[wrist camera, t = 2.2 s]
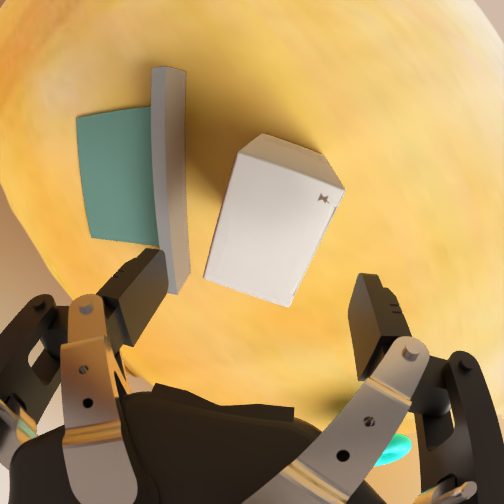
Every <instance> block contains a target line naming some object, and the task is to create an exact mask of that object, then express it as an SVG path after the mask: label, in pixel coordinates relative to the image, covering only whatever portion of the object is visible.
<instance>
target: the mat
mask: <svg viewBox="0 0 504 504" xmlns="http://www.w3.org/2000/svg"><path fill="white" fill-rule="evenodd" d="M76 119H77V140H78V153H79V164H80V173H81V181H82V188H83V195H84V202H85V208H86V213H87V219H88V224H89V229H90V234H91V238H97V239H105V240H113V241H122V242H130V243H139V244H147V245H156V246H159V239H158V230H157V220H156V210H155V198H154V185H153V169H152V146H151V106H149V107H140V108H132V109H125V110H118V111H112V112H106V113H100V114H95V115H90V116H85V117H80V118H76Z"/></svg>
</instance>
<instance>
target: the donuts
mask: <svg viewBox="0 0 504 504" xmlns="http://www.w3.org/2000/svg"><path fill="white" fill-rule="evenodd" d="M410 449H411V440H410V439H409V438H408V437H407V436H405V435H402V434H395V435H394V436H393V438H392V439H391V441H390V443H389V444H388V446H387V447H386V449H385V450H384V452H383V453H382V455H381V456H380V458H379V459H378V461H377V462H376V464H375V465H374V466H379V465H384V464H388V463H391V462H393V461H396V460H398V459H400V458H402V457H403V456H405V455H406V454H407V453H408V452H409V450H410Z"/></svg>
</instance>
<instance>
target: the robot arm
mask: <svg viewBox="0 0 504 504" xmlns="http://www.w3.org/2000/svg"><path fill="white" fill-rule="evenodd" d="M168 286H169V281H168V273H167V265H166V257H165V253H164V251H163V250H158V249H150V248H146V249H145V250H144V251H143V252H142V253H141V254H140V255H139V256H138V257H137V258H133V259H132V260H130V261H128V262H126V263H125V264H124V265H123V266H122V267H121V268H120V269H119V270H118V271H117V272H116V273H115V274H114V275H113V277H111V278H110V279H109V280H108V281H107V282H106V284H105V285H104V286H103V287H102V288H101V289H100V290H99V291H98V292H97V293H96V294H86V295H82V296H80V297H78V298H76V299H75V300H74V301H73V302H72V303H71V304H70V306H56V303H55V301H54V299H53V297H52V296H51V295H48V294H42V295H39V296H36V297H34V298H33V299H32V300H30V301H29V302H28V303H27V304H26V305H25V307H24V308H23V309H22V310H21V311H20V312H19V313H18V314H17V315H16V316H15V318H14V319H13V320H12V321H11V322H10V323H9V325H8V326H7V327H6V328H5V329H4V330H3V332H2V333H1V334H0V463H1V464H2V465H3V466H5V467H6V468H7V469H8V470H9V473H10V493H9V503H8V504H386V502H385V501H384V500H383V499H382V498H381V497H380V496H379V495H378V494H377V493H376V492H375V491H374V490H373V488H372V487H371V486H370V485H369V484H368V483H367V482H366V481H365V480H364V478H365V477H366V476H367V475H368V473H369V472H370V470H371V469H372V468H373V466H374V465H375V464H376V462H377V461H378V459H379V458H380V456H381V455H382V453H383V452H384V450H385V449H386V447H387V446H388V444H389V443H390V441H391V439H392V438H393V436H394V435H395V433H396V431H397V429H398V428H399V426H400V424H401V423H402V421H403V419H404V417H405V415H406V414H407V412H412V413H414V416H415V423H416V430H417V438H418V448H419V458H420V474H421V494H420V495H419V496H418V497H417V498H416V499H415V501H414V503H413V504H504V443H503V438H502V434H501V430H500V426H499V423H498V419H497V415H496V412H495V408H494V405H493V402H492V399H491V396H490V393H489V390H488V387H487V384H486V382H485V379H484V376H483V373H482V371H481V368H480V366H479V364H478V362H477V360H476V359H475V358H474V357H473V356H472V355H471V354H469V353H467V352H465V351H456V352H454V353H452V355H451V356H450V358H449V359H448V360H445V359H441V358H437V357H433V356H430V355H429V351H428V349H427V347H426V346H425V345H424V344H423V343H422V342H421V341H420V340H418V339H416V338H413V337H412V335H411V333H410V330H409V327H408V325H407V322H406V320H405V317H404V315H403V314H402V310H401V308H400V306H399V303H398V300H397V298H396V296H395V295H394V294H393V293H392V292H391V291H390V290H389V289H388V288H383V286H382V284H381V281H380V279H379V277H378V275H375V274H366V273H359V275H358V277H357V280H356V283H355V287H354V290H353V294H352V297H351V300H350V304H349V309H348V320H349V326H350V331H351V337H352V343H353V349H354V356H355V362H356V369H357V377H358V381H365V382H364V383H363V384H362V386H361V387H360V388H359V390H358V391H357V392H356V393H355V395H354V396H353V397H352V398H351V400H350V401H349V402H348V403H347V405H346V406H345V407H344V408H343V409H342V411H341V412H340V413H339V414H338V415H337V416H336V418H335V419H334V420H333V421H332V422H331V423H330V424H329V426H328V427H327V428H326V429H325V430H324V431H323V432H322V431H320V430H319V429H318V428H316V427H315V426H313V425H311V424H310V423H308V422H306V421H303V420H301V419H298V418H295V417H294V408H293V407H282V406H273V405H264V404H250V405H232V406H220V405H217V404H214V403H212V402H210V401H208V400H205V399H203V398H201V397H199V396H197V395H195V394H193V393H190V392H188V391H186V390H181V389H177V388H173V387H169V386H166V385H162V384H158V383H155V385H154V387H153V390H152V392H148V391H147V392H136V393H132V392H131V389H130V386H129V382H128V378H127V374H126V370H125V366H124V362H123V357H122V353H121V350H120V348H121V346H122V345H123V344H124V345H128V346H131V347H134V345H135V344H136V342H137V340H138V339H139V337H140V335H141V334H142V332H143V331H144V329H145V327H146V326H147V324H148V323H149V321H150V319H151V318H152V316H153V315H154V313H155V311H156V310H157V308H158V307H159V305H160V304H161V302H162V300H163V299H164V297H165V296H166V294H167V291H168ZM39 339H40V340H41V342H42V344H43V346H44V347H45V349H44V350H43V352H42V353H41V354H40V356H39V357H38V359H37V360H36V361H35V363H34V364H33V366H32V367H30V365H29V363H28V355H29V353H30V351H31V350H32V349H33V347H34V346H35V345H36V343H37V342H38V341H39ZM60 383H61V392H62V405H63V415H64V425H62V426H60V427H58V428H56V429H54V430H51V431H49V432H47V433H45V434H42V435H40V436H38V435H37V434H36V432H37V427H36V426H37V424H38V422H39V420H40V418H41V416H42V414H43V413H44V411H45V409H46V407H47V405H48V404H49V401H50V400H51V398H52V396H53V394H54V393H55V391H56V389H57V388H58V386H59V384H60ZM451 408H452V412H453V417H454V421H455V428H453V423H452V418H451V413H450V409H451Z"/></svg>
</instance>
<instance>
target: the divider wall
mask: <svg viewBox="0 0 504 504" xmlns="http://www.w3.org/2000/svg"><path fill="white" fill-rule="evenodd" d="M185 89H186V71H182V70H179V69H175V68H172V67H168V66H163V67H156V68H152V80H151V146H152V169H153V185H154V198H155V210H156V220H157V230H158V239H159V247H160V250H163V251H164V253H165V257H166V265H167V273H168V281H169V286H168V291H167V293H170V294H176V295H178V293H179V291H180V290H181V288H182V286H183V285H184V283H185V281H186V279H187V278H188V276H189V274H190V273H191V269H190V256H189V242H188V226H187V207H186V181H185Z"/></svg>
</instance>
